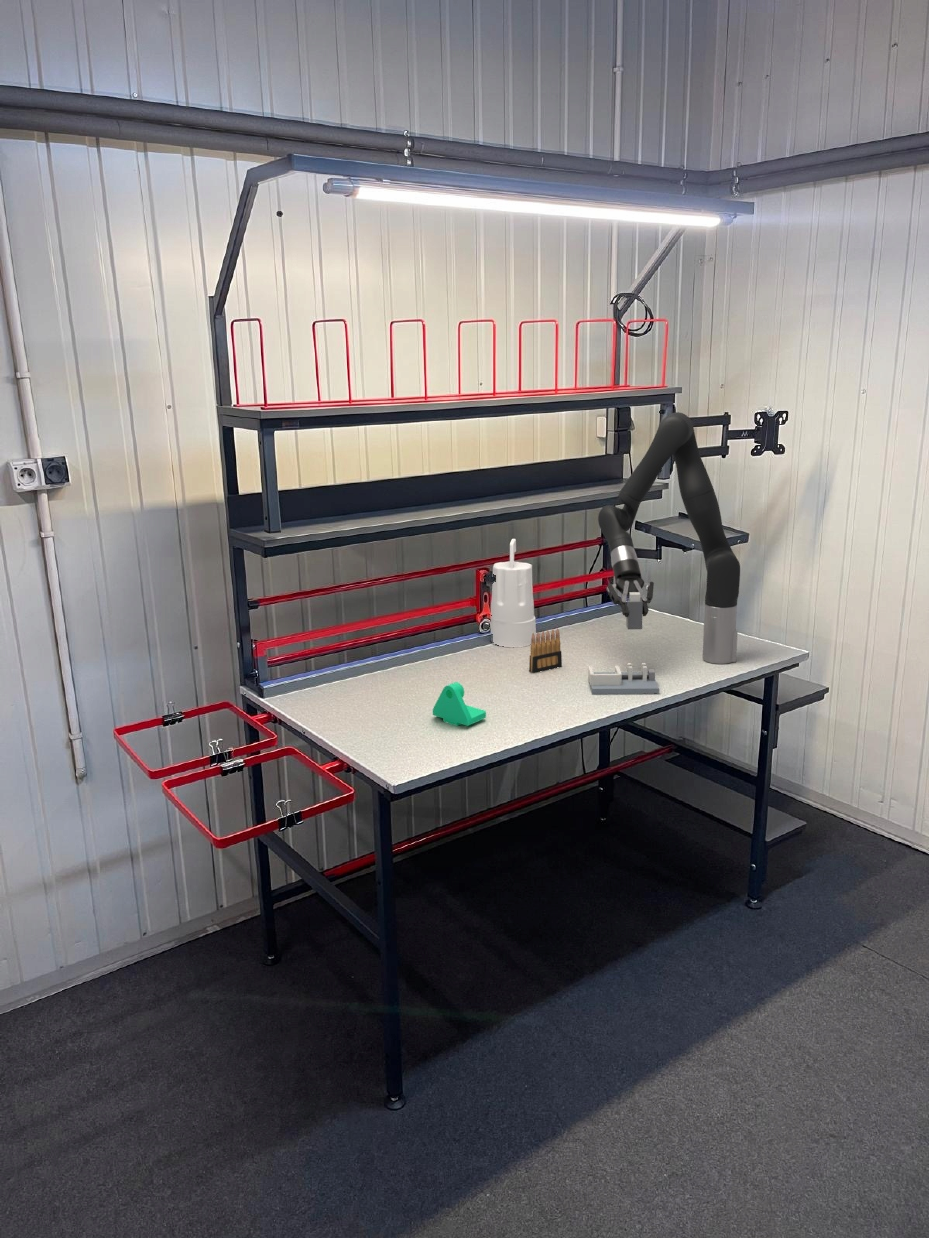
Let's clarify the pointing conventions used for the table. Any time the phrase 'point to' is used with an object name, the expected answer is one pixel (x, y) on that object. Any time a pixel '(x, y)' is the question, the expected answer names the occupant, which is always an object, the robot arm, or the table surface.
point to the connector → (634, 611)
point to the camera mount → (456, 707)
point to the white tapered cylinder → (512, 603)
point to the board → (623, 681)
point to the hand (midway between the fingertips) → (636, 615)
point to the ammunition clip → (545, 652)
